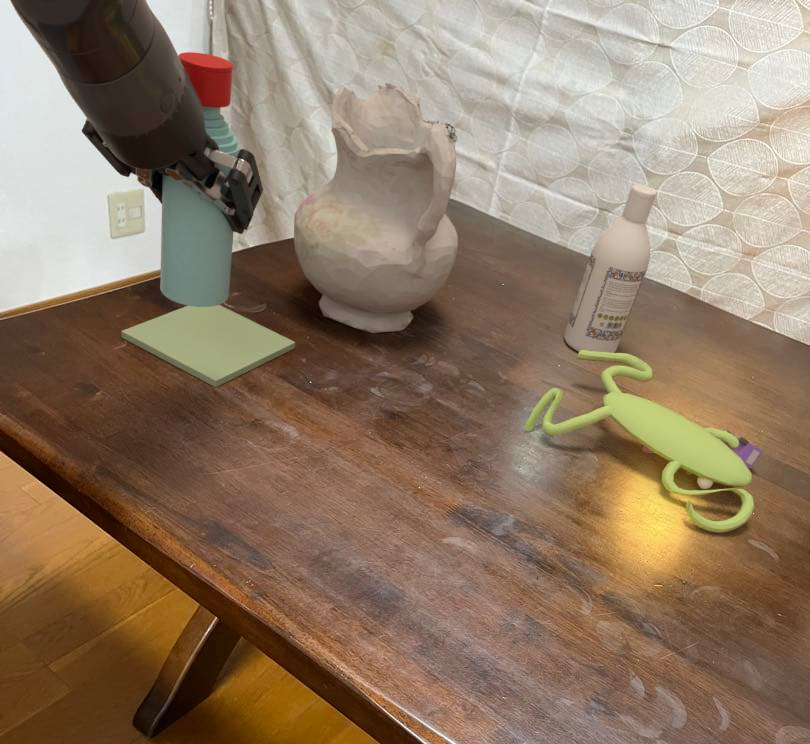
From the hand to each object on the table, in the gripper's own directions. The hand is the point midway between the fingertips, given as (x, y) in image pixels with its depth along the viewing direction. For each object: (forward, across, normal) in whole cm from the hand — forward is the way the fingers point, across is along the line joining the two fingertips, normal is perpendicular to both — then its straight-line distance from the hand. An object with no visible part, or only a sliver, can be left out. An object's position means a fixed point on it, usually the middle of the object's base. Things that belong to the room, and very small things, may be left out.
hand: (208, 211), depth 75 cm
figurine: (+25, -43, 0) cm, 50 cm away
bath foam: (+40, -34, -16) cm, 55 cm away
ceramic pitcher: (+32, -8, -7) cm, 34 cm away
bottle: (+4, 0, +6) cm, 7 cm away
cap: (-8, 0, -5) cm, 9 cm away
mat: (+19, +4, +6) cm, 20 cm away
